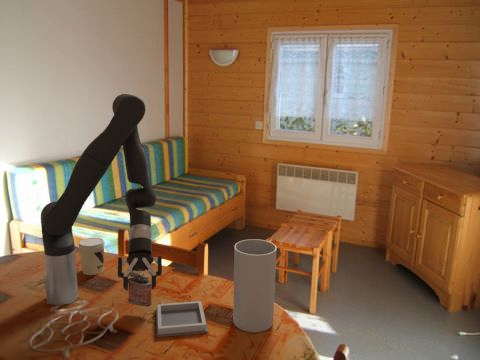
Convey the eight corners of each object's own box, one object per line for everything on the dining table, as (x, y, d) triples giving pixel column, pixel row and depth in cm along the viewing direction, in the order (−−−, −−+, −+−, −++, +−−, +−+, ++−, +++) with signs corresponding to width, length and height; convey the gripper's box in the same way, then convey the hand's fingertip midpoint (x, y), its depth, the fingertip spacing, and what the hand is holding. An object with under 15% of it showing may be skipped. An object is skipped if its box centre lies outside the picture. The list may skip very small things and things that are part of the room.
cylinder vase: (233, 311, 142) (235, 238, 136) (272, 312, 142) (275, 239, 136) (231, 333, 130) (233, 254, 124) (274, 334, 130) (277, 256, 124)
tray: (156, 337, 127) (156, 329, 126) (156, 310, 141) (155, 303, 141) (208, 332, 130) (208, 325, 129) (202, 307, 144) (202, 300, 144)
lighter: (153, 302, 139) (153, 273, 137) (148, 307, 136) (148, 278, 134) (131, 297, 142) (131, 269, 140) (125, 302, 139) (125, 273, 136)
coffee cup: (101, 276, 164) (99, 246, 161) (76, 275, 164) (74, 245, 161) (109, 266, 173) (107, 237, 170) (85, 265, 173) (83, 236, 170)
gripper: (117, 236, 141) (115, 286, 132) (162, 235, 144) (163, 284, 135) (118, 246, 147) (116, 294, 139) (161, 244, 150) (162, 291, 142)
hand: (139, 289), depth 137 cm, fingers closed on lighter, 7 cm apart
